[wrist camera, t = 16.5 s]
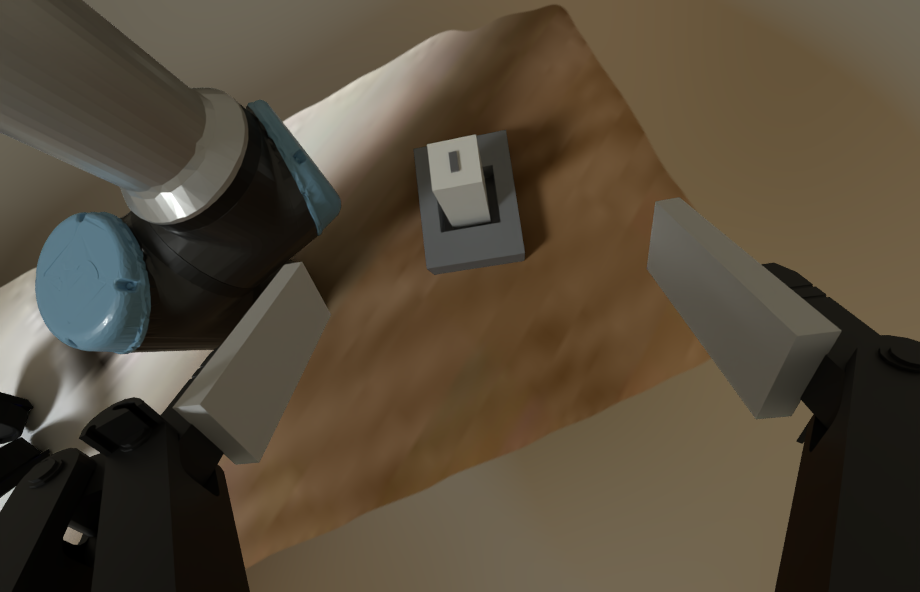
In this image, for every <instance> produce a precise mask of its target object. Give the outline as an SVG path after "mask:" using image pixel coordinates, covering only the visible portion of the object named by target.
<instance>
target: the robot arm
mask: <svg viewBox="0 0 920 592" xmlns="http://www.w3.org/2000/svg"><path fill="white" fill-rule="evenodd" d="M0 133H3V134H5V135H7V136H9V137H11V138H13V139H16V140H18V141H20V142H22V143H24V144H27V145H29V146H31V147H33V148H35V149H38V150H40V151H42V152H44V153H47V154H49V155H51V156H53V157H56V158H58V159H60V160H62V161H64V162H66V163H69V164H71V165H73V166H75V167H77V168H80V169H82V170H84V171H86V172H88V173H91V174H93V175H95V176H97V177H99V178H102V179H104V180H106V181H108V182H110V183H113V184H115V185H117V186H119V187H120V189H121V191H122V194H123V196H124V199H125V201H126V203H127V205H128V207H129V208H130V210H131V211H130V212H129V213H128V214H127V215H126V216H124V217H122V218H117V216H115V215H113V214H110V213H107V212H100V213H97V212H91V213H86V212H84V213H78V214H75V215H72V216H71V217H69V218H67V219H66V220H64V221H63V222H62V223H60V224H59V225H58V226H57V227H56V228H55V229H54V230H53V232H52V233H51V234H50V236H49V237H48V239H47V241H46V242H45V244H44V246H43V249H42V252H41V254H40V257H39V260H38V265H37V270H36V281H35V291H36V299H37V304H38V308H39V311H40V314H41V316H42V318H43V320H44V322H45V324H46V326H47V327H48V329H49V330H50V331H51V332H52V333H53V335H54V336H56V337H57V338H58V339H59V340H60V341H62V342H63V343H65V344H66V345H68V346H70V347H73V348H76V349H80V350H85V351H102V352H114V353H118V354H128V353H132V352H158V351H186V350H214V351H212V352H211V353H210V354H209V356H208V357H207V358H206V359H205V361H204V362H203V363H202V364H201V366H200V368H199V369H197V371H196V372H195V373H194V374H193V376H192V379H189V381H188V382H187V383H186V384H185V386H184V387H183V388H182V389H181V391H180V392H179V393H178V394H177V396H176V397H175V398H174V399H173V401H172V402H171V403H170V404H169V406H168V407H167V408H166V409H165V411H164V412H163V413H162V414H161V416H160V415H159V414H158V413H157V412H155V411H154V410H153V409H152V408H151V407H150V406H148V405H147V404H146V403H145V402H144V401H143V400H141V399H140V398H135V397H133V398H128V399H124V400H122V401H120V402H117V403H115V404H113V405H111V406H110V407H108V408H107V409H105V410H103V411H102V412H101V413H99V414H98V415H97V416H96V417H95V418H93V419H92V420H91V421H90V422H89V423H88V424H87V426H86V427H85V428H84V429H83V430H82V433H81V435H80V437H79V439H81V440H82V441H84V442H85V443H87V444H88V445H90V446H91V447H93V448H94V449H96V450H97V451H99V452H100V454H97V455H94V456H92V457H89V456H87V455H86V454H84V453H83V452H81V451H80V450H78V449H77V448H68V449H65V450H62V451H59V452H57V453H55V454H53V455H52V456H50V457H47V458H45V459H44V460H42V461H41V463H38V464H37V465H35V466H34V467H33V468H32V469H31V471H29V472H28V473H27V474H26V475H25V476H24V477H23V478H22V480H21V481H20V482H19V483H18V485H17V486H16V487H15V489H14V490H13V492H12V494H11V495H10V497H9V499H8V500H7V502H6V503H5V505H4V507H3V508H2V510H1V512H0V592H250V590H249V586H248V581H247V576H246V572H245V567H244V562H243V558H242V553H241V548H240V544H239V539H238V535H237V530H236V525H235V521H234V516H233V511H232V507H231V502H230V498H229V493H228V488H227V484H226V479H225V474H224V471H223V470H222V468H221V467H220V466H219V465H218V462H219V461H220V459H221V457H222V455H223V454H224V455H226V456H227V457H228V458H229V459H230V460H231V461H232V462H233V463H234V464H247V463H259V462H260V460H261V458H262V456H263V454H264V452H265V450H266V448H267V445H268V443H269V441H270V439H271V437H272V435H273V433H274V431H275V429H276V427H277V425H278V423H279V421H280V419H281V417H282V415H283V413H284V410H285V408H286V406H287V404H288V402H289V400H290V398H291V396H292V394H293V392H294V390H295V388H296V386H297V384H298V382H299V380H300V378H301V375H302V373H303V371H304V369H305V367H306V365H307V363H308V361H309V359H310V357H311V355H312V353H313V351H314V349H315V347H316V345H317V342H318V340H319V338H320V336H321V334H322V332H323V330H324V328H325V326H326V324H327V322H328V320H329V318H330V316H331V314H330V312H329V310H328V308H327V306H326V305H325V303H324V301H323V299H322V297H321V295H320V293H319V292H318V290H317V288H316V286H315V284H314V282H313V281H312V279H311V277H310V275H309V273H308V271H307V269H306V268H305V266H304V264H303V262H297V263H295V262H293V261H291V260H289V259H290V258H292V257H293V256H294V255H295V254H296V253H298V252H299V251H300V250H301V249H302V248H304V247H305V246H306V245H307V244H308V243H310V242H311V241H312V240H313V239H315V238H316V237H317V236H319V235H320V234H321V233H322V230H323V229H324V228H325V227H326V226H327V225H328V224H329V223H330V222H331V221H332V220H333V219H334V218H335V217H336V216H337V215H338V214H339V212H340V209H341V200H340V198H339V195H338V194H337V192H336V191H335V190H334V188H333V187H332V186H331V184H330V183H329V182H328V180H327V179H326V178H325V176H324V175H323V174H322V172H321V171H320V170H319V168H318V167H317V166H316V165H315V163H314V162H313V161H312V159H311V158H310V157H309V155H308V154H307V153H306V152H305V150H304V149H303V148H302V146H301V145H300V144H299V143H298V141H297V140H296V139H295V137H294V136H293V135H292V133H291V132H290V131H289V130H288V128H287V127H286V126H285V125H284V123H283V122H282V121H281V119H280V118H279V117H278V116H277V114H276V113H275V112H274V111H273V110H272V108H271V107H270V106H269V105H268V104H267V102H265V101H263V100H257V101H255V102H251V103H248V105H247V107H246V109H245V108H244V107H243V106H242V105H240V104H239V103H238V102H237V101H236V100H235V99H234V98H232V97H231V96H229V95H228V94H227V93H225V92H224V91H221V90H218V89H214V88H189V87H188V86H187V85H185V84H184V83H183V82H182V81H180V80H179V79H178V78H177V77H176V76H175V75H173V74H172V73H171V72H170V71H168V70H167V69H166V68H165V67H164V66H162V65H161V64H159V62H157V61H156V60H155V59H154V58H153V57H151V56H150V55H149V54H147V53H146V52H145V51H144V50H143V49H142V48H140V47H139V46H138V45H137V44H135V43H134V42H133V41H132V40H131V39H129V38H128V37H127V36H126V35H124V34H123V33H122V32H121V31H120V30H118V29H117V28H116V27H115V26H113V25H112V24H111V23H110V22H109V21H107V20H106V19H105V18H104V17H102V16H101V15H100V14H99V13H97V12H96V11H95V10H94V9H93V8H91V7H90V6H89V5H88V4H86V3H85V2H84V1H83V0H0ZM647 270H648V271H649V272H650V274H651V275H652V276H653V278H654V279H655V281H656V282H657V283H658V285H659V286H660V288H661V289H662V290H663V292H664V293H665V294H666V296H667V297H668V299H669V300H670V301H671V303H672V304H673V305H674V307H675V308H676V310H677V311H678V312H679V314H680V315H681V317H682V318H683V319H684V321H685V322H686V323H687V325H688V326H689V328H690V329H691V330H692V332H693V333H694V334H695V336H696V337H697V339H698V340H699V341H700V343H701V344H702V345H703V347H704V348H705V350H706V351H707V352H708V354H709V355H710V357H711V358H712V359H713V360H714V362H715V363H716V365H717V366H718V368H719V369H720V370H721V372H722V373H723V374H724V376H725V377H726V378H727V380H728V381H729V383H730V384H731V385H732V387H733V388H734V390H735V391H736V392H737V394H738V395H739V397H740V398H741V399H742V401H743V402H744V403H745V405H746V406H747V407H748V409H749V410H750V412H751V413H752V414H753V416H754V417H755V418H756V419H764V418H775V417H786V416H792V414H793V413H794V411H795V409H796V408H797V406H798V404H799V403H800V400H802V401H803V402H804V403H805V405H806V406H807V407H808V408H809V409H810V410H811V411H812V413H813V414H814V415H813V416H812V418H811V419H810V421H809V422H808V424H807V425H806V427H805V429H804V430H803V432H802V433H801V435H800V436H799V438H798V439H797V442H799V443H803V442H804V447H803V451H802V457H801V462H800V467H799V472H798V477H797V482H796V487H795V492H794V497H793V502H792V508H791V512H790V517H789V522H788V527H787V532H786V537H785V542H784V547H783V552H782V558H781V562H780V567H779V573H778V577H777V582H776V588H775V592H920V342H918V341H915V340H912V339H909V338H904V337H897V336H891V335H879V334H878V333H876V332H875V331H874V330H873V329H871V328H870V327H869V326H867V325H866V324H865V323H863V322H862V321H861V320H859V319H858V318H857V317H855V316H854V315H853V314H851V313H850V312H849V311H847V310H846V309H845V308H843V307H842V306H841V305H839V304H838V303H837V302H836V301H834V300H833V299H831V298H830V297H826V294H825V293H824V292H822V291H821V290H820V289H818V288H817V287H813V286H812V285H813V284H811V283H810V282H809V281H808V280H806V279H805V278H804V277H802V276H801V275H800V274H798V273H797V272H795V271H793V270H790V269H788V268H786V267H783V266H781V265H778V264H776V263H769V264H760V263H759V262H757V261H756V260H755V259H754V258H753V257H751V256H750V255H749V254H748V253H746V252H745V251H744V250H743V249H742V248H740V247H739V246H738V245H737V244H736V243H734V242H733V241H732V240H731V239H729V238H728V237H727V236H726V235H725V234H723V233H722V232H721V231H720V230H718V229H717V228H716V227H715V226H714V225H712V224H711V223H710V222H709V221H707V220H706V219H705V218H704V217H703V216H701V215H700V214H699V213H698V212H697V211H695V210H694V209H693V208H692V207H690V206H689V205H688V204H687V203H686V202H684V201H683V200H682V199H681V198H680V197H679V198H673V199H667V200H662V201H656V202H655V210H654V217H653V225H652V233H651V240H650V248H649V255H648V263H647ZM67 527H70V528H72V529H74V530H76V531H78V532H80V533H83V535H82V538H81V540H80V542H79V543H78V545H73V544H71V543H69V542H66V541H64V540H63V536H64V534H65V532H66V530H67Z"/></svg>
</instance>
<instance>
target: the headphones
mask: <svg viewBox="0 0 920 592" xmlns="http://www.w3.org/2000/svg"><path fill="white" fill-rule="evenodd" d="M32 408H33V406H32V405H31V403H30V402H29V401H28V400H27V399H23V398H19V397H16V396H12V395H9V394H5V393H1V392H0V444H4V443H7V442H10V443H8V444H6V445H4V446H2V447H1V448H0V498H1V497H2V496H3V495H5V494H6V493H7V492H9V491H10V490H11V489H13V488H14V487H16V486H17V485H18V483H19V482H20V481H21V480H22V478H23V477H24V476H25V475H26V474H27V473H28V472H29V471H31V469H32V468H33V467H34V466H35V465H37V464H38V463H41V461H42V460H44V459H45V458H47V457H49V449H48V450H46V451H45V452H43V453H42V454H41V455H39V454H40V453H41V452H40V451H39V450H38V449H36V448H35V447H34V446H32V445H31V444H30V443H29V442H27V441H26V440H25V439H23V438H22V437H21V438H19V437H20V436H21V435H22V433H23V430H24V427H25V424H26V421H27V418H28V411H29V410H31V409H32ZM11 441H12V442H11ZM38 455H39V456H38Z"/></svg>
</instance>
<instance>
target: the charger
mask: <svg viewBox="0 0 920 592" xmlns="http://www.w3.org/2000/svg"><path fill="white" fill-rule="evenodd" d="M427 149H428V157H429V166H430V175H431V184H432V191H433V193H434V195H435V197H436V198H437V200H438V202H439V204H440V205H441V207H442V209H443V211H444V213H445V214H446V216H447V218H448V220H449V222H450V223H451V225H452V227H453V229H455V228H461V227H467V226H473V225H479V224H485V223H491V218H490V211H489V204H488V196H487V189H486V183H485V178H484V173H483V168H482V163H481V158H480V153H479V148H478V143H477V138H476V135H471V136H466V137H461V138H456V139H451V140H446V141H441V142H436V143H432V144H427Z"/></svg>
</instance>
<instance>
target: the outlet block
mask: <svg viewBox="0 0 920 592" xmlns="http://www.w3.org/2000/svg"><path fill="white" fill-rule="evenodd" d="M476 138H477V143H478V148H479V153H480V158H481V163H482V168H483V173H484V178H485V183H486V189H487V196H488V204H489V211H490V218H491V223H485V224H479V225H473V226H467V227H461V228H455V229H453V227H452V225H451V223H450V222H449V220H448V218H447V216H446V214H445V213H444V211H443V209H442V207H441V205H440V204H439V202H438V200H437V198H436V197H435V195H434V193H433V191H432V184H431V175H430V166H429V157H428V149H427V146H426V147H421V148H416V149H414V158H415V167H416V176H417V185H418V194H419V203H420V212H421V221H422V230H423V239H424V248H425V257H426V265H427V269H428V270H429V271H430V272H432V273H433V274H434V275H436V274H442V273H449V272H455V271H461V270H468V269H474V268H481V267H487V266H494V265H500V264H506V263H513V262H519V261H524V258H525V251H524V244H523V238H522V231H521V225H520V218H519V212H518V205H517V199H516V192H515V186H514V180H513V173H512V167H511V160H510V154H509V147H508V141H507V134H506V130H503V131H498V132H493V133H488V134H483V135H479V136H476Z"/></svg>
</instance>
